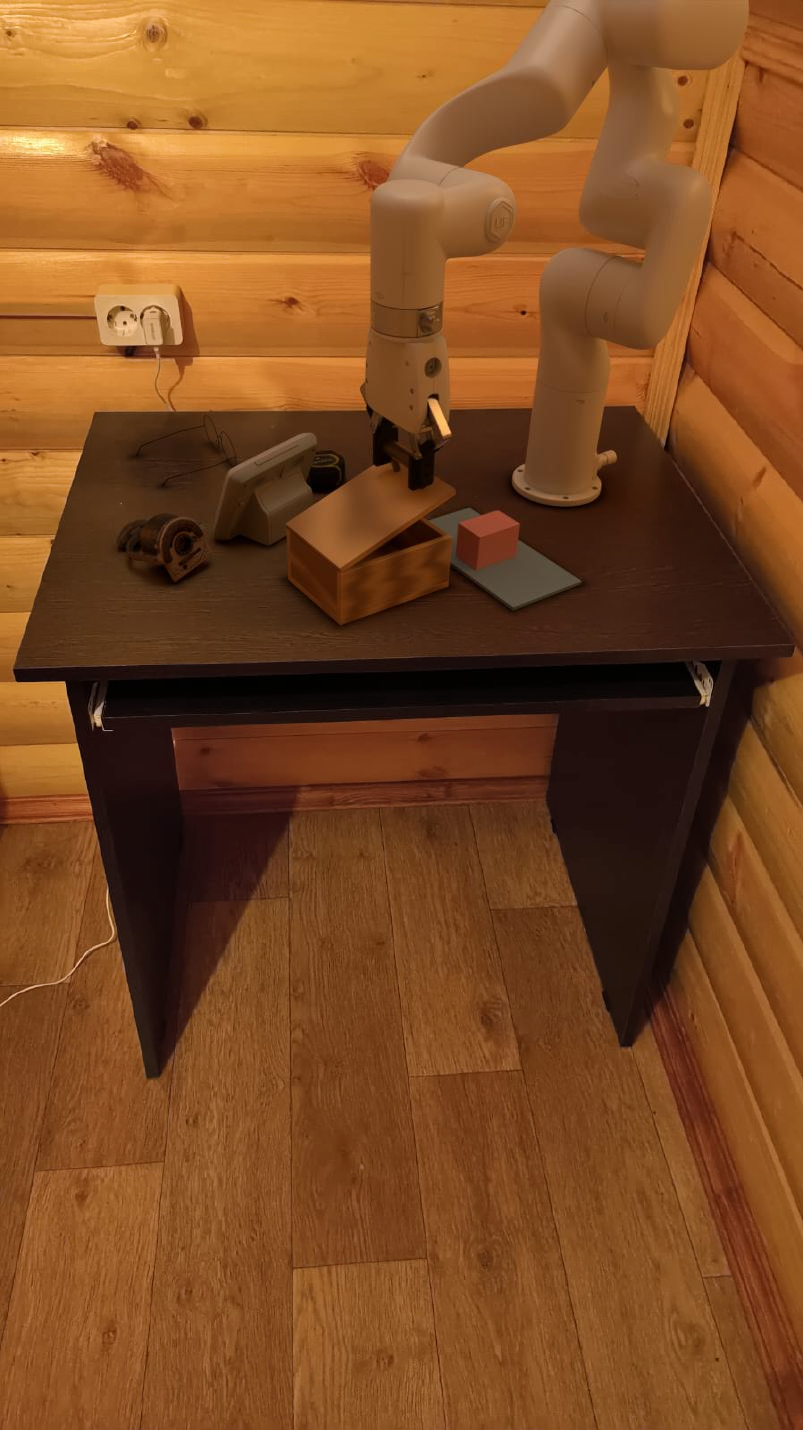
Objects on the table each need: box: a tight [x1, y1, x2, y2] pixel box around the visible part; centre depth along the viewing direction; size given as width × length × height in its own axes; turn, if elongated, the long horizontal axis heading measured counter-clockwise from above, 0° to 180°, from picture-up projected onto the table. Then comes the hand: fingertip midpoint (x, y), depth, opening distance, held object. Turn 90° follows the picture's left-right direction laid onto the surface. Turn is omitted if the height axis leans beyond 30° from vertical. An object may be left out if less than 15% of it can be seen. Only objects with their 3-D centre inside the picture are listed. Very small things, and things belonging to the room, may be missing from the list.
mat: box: [427, 507, 582, 612], centre depth 129 cm, size 11×22×1 cm, turn 36°
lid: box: [286, 438, 457, 573], centre depth 115 cm, size 16×12×5 cm
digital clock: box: [212, 432, 319, 547], centre depth 130 cm, size 16×9×11 cm, turn 133°
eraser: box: [456, 509, 521, 570], centre depth 127 cm, size 6×4×5 cm, turn 126°
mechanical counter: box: [116, 512, 213, 583], centre depth 123 cm, size 7×13×10 cm
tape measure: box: [306, 449, 346, 489], centre depth 142 cm, size 7×7×4 cm
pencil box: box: [286, 516, 453, 626], centre depth 121 cm, size 16×12×7 cm
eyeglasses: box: [135, 414, 237, 487], centre depth 144 cm, size 11×13×5 cm
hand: (402, 473), depth 117 cm, fingers closed on lid, 6 cm apart
